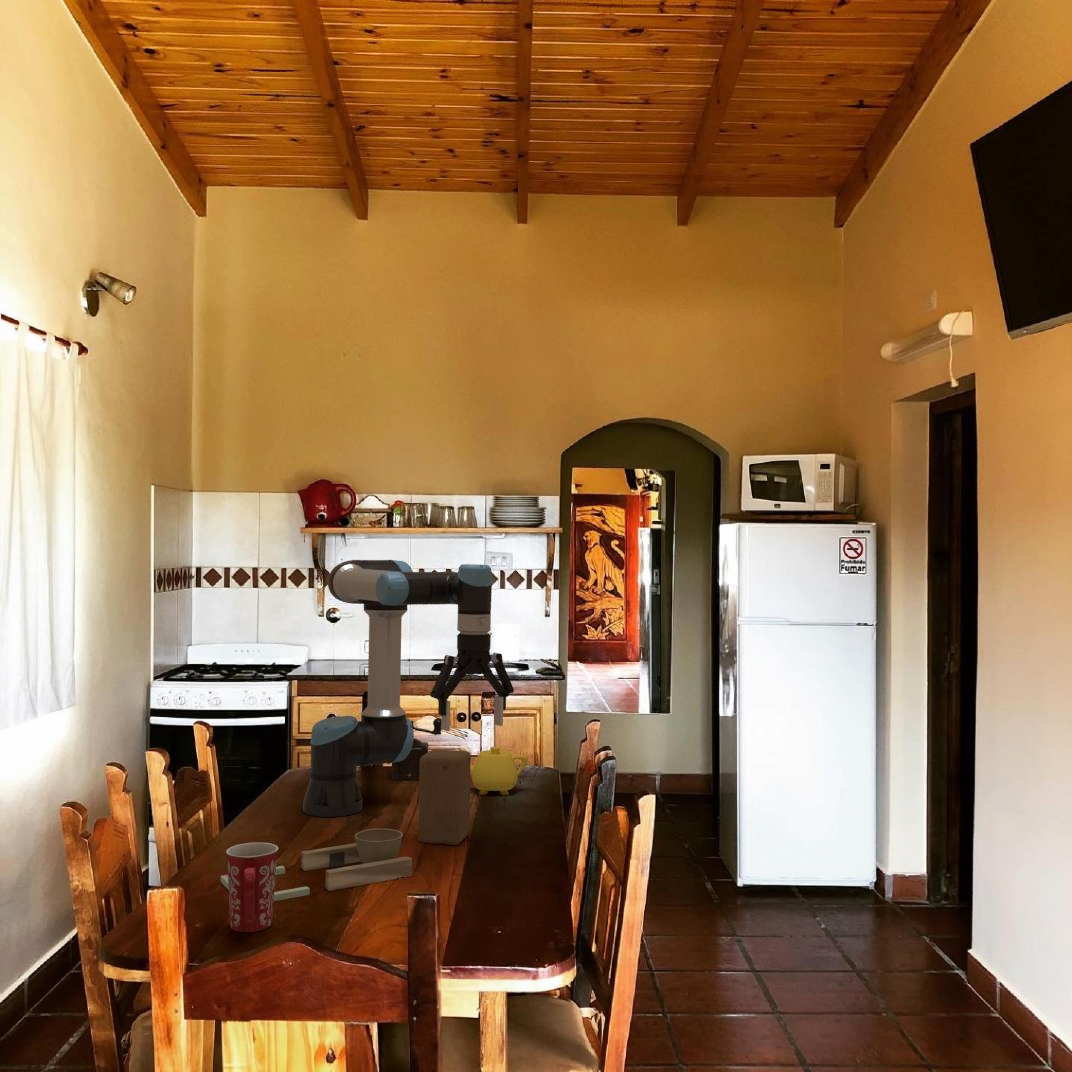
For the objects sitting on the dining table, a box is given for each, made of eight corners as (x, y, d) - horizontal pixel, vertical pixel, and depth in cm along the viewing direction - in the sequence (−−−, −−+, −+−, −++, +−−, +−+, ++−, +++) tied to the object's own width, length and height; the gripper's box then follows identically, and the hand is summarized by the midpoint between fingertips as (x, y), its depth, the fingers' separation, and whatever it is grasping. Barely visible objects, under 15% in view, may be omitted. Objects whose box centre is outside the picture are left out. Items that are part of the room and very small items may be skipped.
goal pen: (220, 881, 197) (220, 875, 197) (282, 871, 204) (282, 865, 204) (244, 906, 183) (244, 900, 183) (309, 894, 190) (309, 888, 190)
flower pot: (410, 864, 210) (410, 830, 210) (388, 878, 201) (388, 843, 201) (368, 858, 213) (369, 825, 213) (345, 872, 204) (346, 838, 204)
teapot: (458, 784, 282) (459, 741, 283) (527, 786, 282) (528, 743, 282) (454, 796, 269) (454, 751, 269) (526, 797, 269) (527, 752, 269)
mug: (227, 916, 178) (229, 842, 179) (278, 914, 180) (280, 840, 180) (218, 944, 166) (219, 864, 166) (273, 941, 168) (274, 862, 168)
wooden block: (458, 846, 223) (460, 758, 223) (416, 843, 225) (418, 756, 225) (470, 834, 233) (471, 750, 233) (430, 831, 235) (431, 748, 235)
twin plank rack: (301, 868, 206) (301, 851, 206) (380, 855, 216) (380, 839, 216) (329, 891, 193) (329, 873, 193) (411, 875, 202) (412, 858, 202)
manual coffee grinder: (391, 781, 286) (392, 719, 286) (393, 772, 297) (394, 713, 297) (444, 780, 287) (445, 719, 287) (445, 772, 298) (446, 713, 298)
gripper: (432, 635, 210) (430, 735, 209) (529, 632, 223) (528, 725, 223) (416, 633, 216) (414, 729, 216) (512, 630, 230) (510, 720, 229)
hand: (472, 727), depth 219 cm, fingers open, 13 cm apart
